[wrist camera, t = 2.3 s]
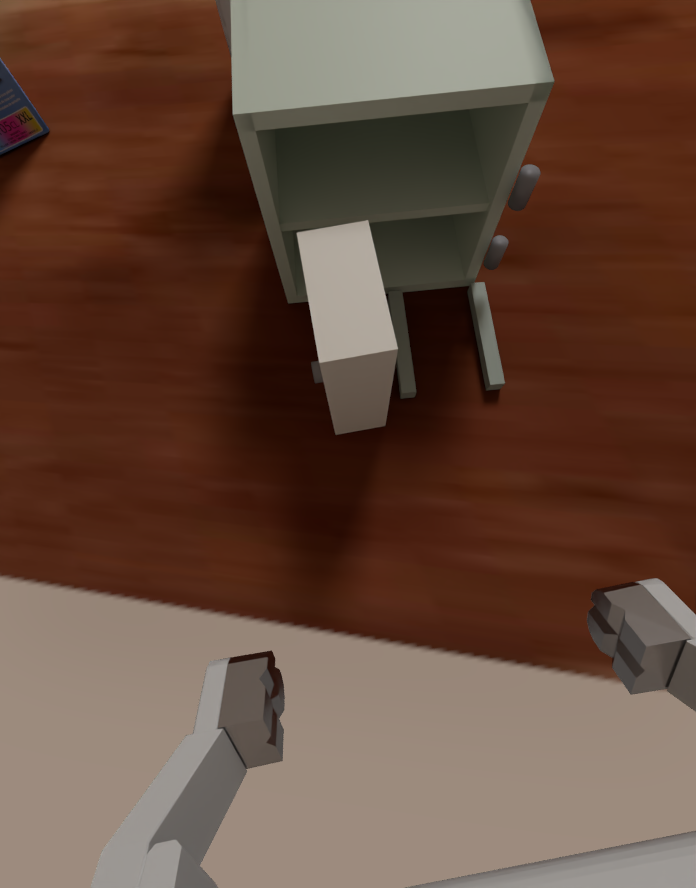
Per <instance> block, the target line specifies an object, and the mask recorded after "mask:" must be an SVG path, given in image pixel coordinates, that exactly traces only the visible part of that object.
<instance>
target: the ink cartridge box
mask: <svg viewBox="0 0 696 888" xmlns="http://www.w3.org/2000/svg"><path fill="white" fill-rule="evenodd" d="M48 132H49V128H48V127H47V125H46V124H45V123H44V121H43V120H42V118H41V117H40V115H39V114H38V112H37V111H36V109H35V108H34V106H33V105H32V103H31V102H30V101H29V99H28V98H27V96H26V95H25V93H24V92H23V90H22V89H21V87H20V86H19V84H18V83H17V81H16V80H15V79H14V77H13V76H12V74H11V73H10V71H9V70H8V68H7V67H6V66H5V64H4V63H3V61H2V60H1V59H0V155H1V154H3V153H6V152H8V151H10V150H12V149H14V148H16V147H18V146H20V145H22V144H24V143H27V142H29V141H31V140H33V139H35V138H37V137H39V136H42V135H44V134H46V133H48Z"/></svg>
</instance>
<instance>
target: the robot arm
mask: <svg viewBox="0 0 696 888" xmlns="http://www.w3.org/2000/svg"><path fill="white" fill-rule="evenodd" d="M591 601H592V602H593V603H594V606H593V607H592V608H591V609H590V610H589V611H588V617H587V623H588V627H589V631H590V633H591V636H592V638H593V640H594V641H595V643H596V644H597V646H598V648H599V649H600V650H601V651H602V652H604V653H606V654H607V655H609V656H610V657H612V668H613V669H614V671H615V672H616V674H617V675H618V677H619V678H620V680H621V681H622V682H623V684H624V685H625V687H626V688H627V690H628V691H629V693H630V694H638V693H643V692H649V691H656V690H663V689H667V691H668V692H669V693H670V694H672V695H673V696H675V697H676V698H677V699H679V700H680V701H682V702H683V703H684V704H686V705H687V706H689V707H690V708H691V709H693V710H695V711H696V615H695V614H694V613H693V612H692V611H691V610H690V609H689V608H688V607H687V606H686V605H685V604H684V603H683V602H682V601H681V600H680V599H679V598H678V597H677V596H676V595H675V594H674V593H673V592H672V591H671V590H670V589H669V588H668V587H667V586H666V585H665V584H664V583H663V582H662V581H661V580H659V579H657V578H655V579H648V580H643V581H638V582H630V583H625V584H620V585H615V586H610V587H605V588H600V589H596V590H595V591H594V592H592V596H591ZM284 699H285V698H284V684H283V680H282V675H281V672H280V670H279V669H277V668H276V667H275V657H274V655H273V652H272V651H267V652H261V653H255V654H249V655H243V656H237V657H231V658H225V659H220V660H214V661H210V663H209V665H208V667H207V669H206V673H205V678H204V682H203V687H202V692H201V697H200V702H199V707H198V711H197V716H196V721H195V726H194V730H193V734H190V735H186V737H185V738H184V739H183V741H182V742H181V743H180V745H179V746H178V748H177V749H176V750H175V752H174V753H173V754H172V756H171V757H170V759H169V760H168V761H167V763H166V764H165V765H164V767H163V768H162V769H161V771H160V772H159V774H158V775H157V776H156V778H155V779H154V781H153V782H152V783H151V785H150V786H149V787H148V789H147V790H146V791H145V793H144V794H143V796H142V797H141V798H140V800H139V801H138V802H137V804H136V805H135V807H134V808H133V809H132V811H131V812H130V813H129V815H128V816H127V818H126V819H125V820H124V822H123V823H122V825H121V826H120V827H119V829H118V830H117V831H116V833H115V834H114V835H113V837H112V838H111V840H110V841H109V842H108V844H107V845H106V846H105V848H104V849H103V850H102V853H101V856H100V859H99V862H98V865H97V869H96V872H95V875H94V878H93V882H92V885H91V888H218V887H217V885H216V884H215V882H214V881H213V880H212V879H211V878H210V877H209V875H208V874H207V873H206V872H205V871H204V870H203V869H202V868H201V867H200V864H201V862H202V860H203V858H204V856H205V854H206V852H207V850H208V848H209V846H210V844H211V842H212V840H213V838H214V836H215V834H216V832H217V830H218V828H219V826H220V824H221V822H222V820H223V818H224V816H225V814H226V812H227V810H228V808H229V806H230V805H231V803H232V801H233V799H234V797H235V795H236V792H237V790H238V789H239V787H240V785H241V783H242V781H243V779H244V776H245V775H246V773H247V770H246V769H248V768H252V767H257V766H262V765H266V764H270V763H275V762H280V761H282V759H283V734H284V729H283V727H282V725H281V722H280V720H279V718H280V716H281V715H282V713H283V711H284ZM406 888H696V831H692V832H687V833H682V834H677V835H672V836H667V837H662V838H657V839H652V840H646V841H642V842H636V843H631V844H626V845H621V846H616V847H611V848H605V849H601V850H595V851H590V852H586V853H580V854H575V855H570V856H565V857H559V858H555V859H549V860H544V861H539V862H534V863H529V864H524V865H518V866H513V867H508V868H504V869H498V870H493V871H488V872H483V873H478V874H472V875H467V876H462V877H458V878H452V879H447V880H442V881H437V882H432V883H426V884H422V885H416V886H411V887H406Z"/></svg>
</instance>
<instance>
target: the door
mask: <svg viewBox="0 0 696 888" xmlns="http://www.w3.org/2000/svg"><path fill="white" fill-rule="evenodd" d="M297 238H298V243H299V249H300V255H301V261H302V267H303V272H304V278H305V284H306V290H307V295H308V301H309V307H310V313H311V318H312V324H313V330H314V336H315V341H316V347H317V353H318V359H319V361H315V362H311V366H312V372H313V377H314V381H315V383H321V382H324V386H325V391H326V395H327V399H328V404H329V408H330V413H331V417H332V422H333V426H334V430H335V435H338V434H343V433H349V432H355V431H360V430H366V429H371V428H377V427H382V426H385V425H386V419H387V413H388V407H389V401H390V395H391V389H392V383H393V376H394V370H395V364H396V358H397V352H398V347H397V343H396V338H395V334H394V330H393V325H392V321H391V317H390V312H389V308H388V304H387V299H386V295H385V291H384V286H383V282H382V278H381V274H380V269H379V265H378V261H377V256H376V252H375V248H374V243H373V239H372V235H371V230H370V226H369V222H368V220H366V221H361V222H355V223H349V224H343V225H338V226H332V227H326V228H320V229H315V230H309V231H303V232H297Z"/></svg>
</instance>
